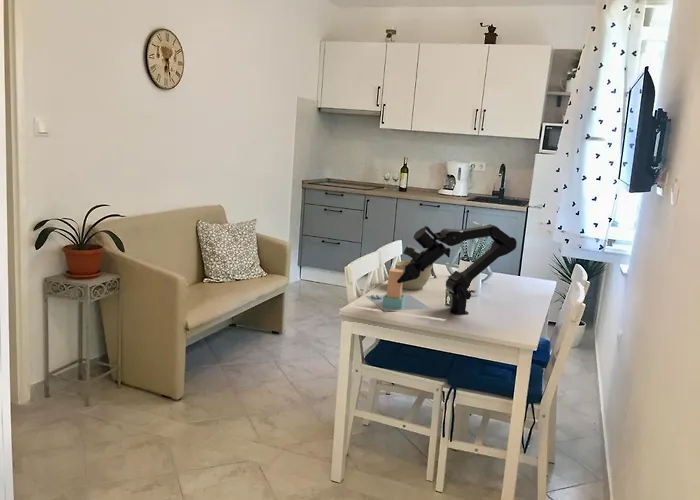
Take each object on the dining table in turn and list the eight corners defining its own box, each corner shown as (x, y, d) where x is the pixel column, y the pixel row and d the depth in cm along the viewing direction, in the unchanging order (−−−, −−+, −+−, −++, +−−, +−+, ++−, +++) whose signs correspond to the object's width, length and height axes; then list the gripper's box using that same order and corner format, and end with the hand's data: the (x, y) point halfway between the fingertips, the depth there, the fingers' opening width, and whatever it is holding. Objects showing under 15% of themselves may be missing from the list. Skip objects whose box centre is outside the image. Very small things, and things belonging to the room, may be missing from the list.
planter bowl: (427, 285, 281) (430, 262, 279) (431, 294, 265) (434, 270, 263) (392, 282, 281) (394, 259, 279) (394, 291, 265) (396, 267, 263)
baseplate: (431, 310, 240) (432, 299, 240) (384, 312, 233) (385, 300, 233) (409, 296, 259) (410, 286, 258) (364, 297, 252) (365, 287, 251)
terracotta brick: (401, 297, 242) (403, 269, 240) (399, 300, 237) (401, 272, 235) (389, 295, 243) (391, 268, 241) (386, 298, 239) (388, 270, 237)
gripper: (421, 235, 243) (391, 259, 248) (413, 242, 225) (381, 268, 230) (439, 257, 243) (409, 280, 248) (432, 266, 225) (400, 291, 230)
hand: (399, 279), depth 239 cm, fingers open, 9 cm apart
